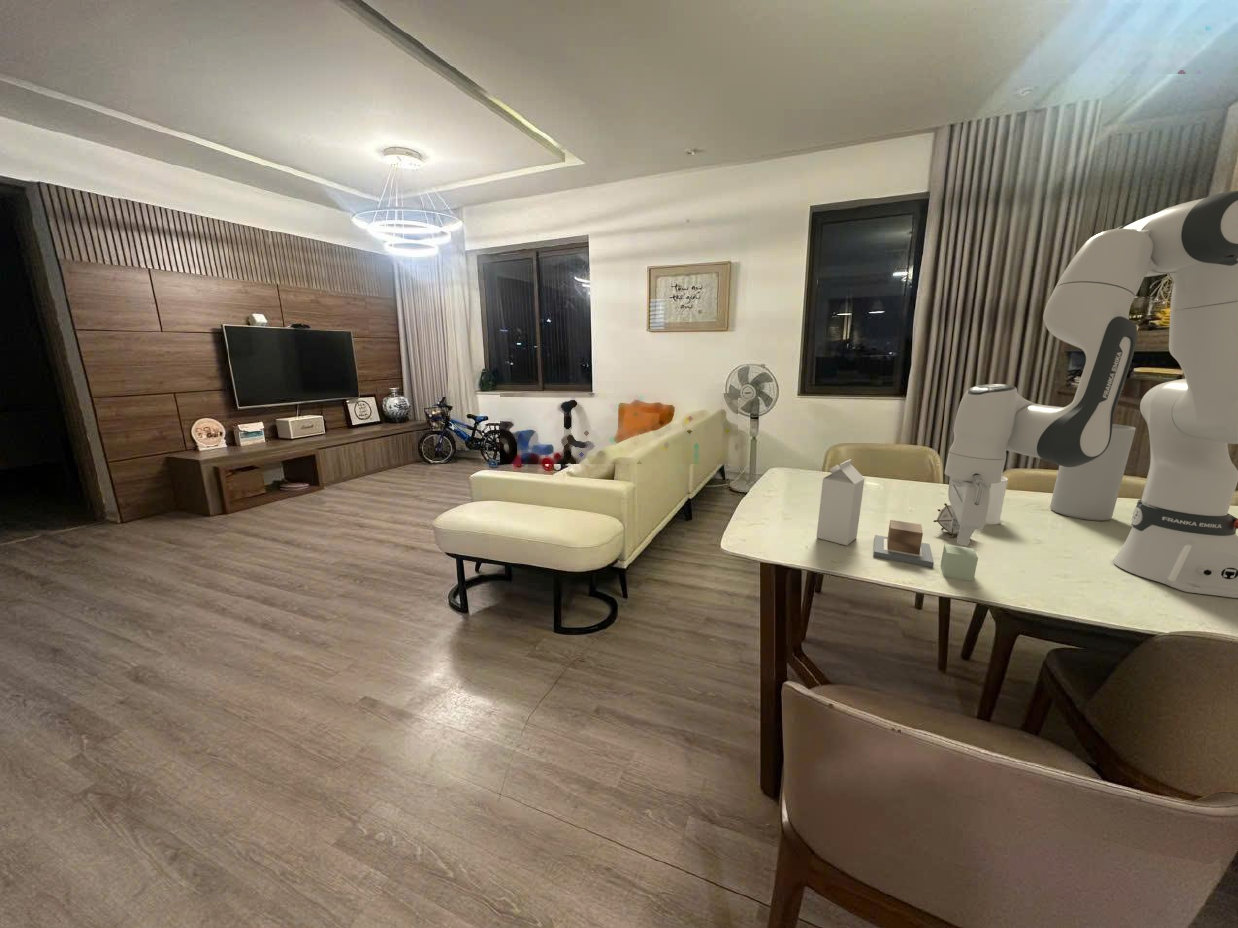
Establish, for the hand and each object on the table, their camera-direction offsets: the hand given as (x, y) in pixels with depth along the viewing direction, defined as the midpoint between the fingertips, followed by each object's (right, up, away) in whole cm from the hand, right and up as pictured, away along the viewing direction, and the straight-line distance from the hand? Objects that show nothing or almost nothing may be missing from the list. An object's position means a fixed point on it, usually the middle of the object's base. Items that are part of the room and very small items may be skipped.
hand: (959, 535), depth 93 cm
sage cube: (+1, -8, +1) cm, 8 cm away
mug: (+31, -1, +33) cm, 45 cm away
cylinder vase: (+61, 0, +37) cm, 71 cm away
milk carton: (-16, -4, +19) cm, 25 cm away
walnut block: (-5, -4, +11) cm, 12 cm away
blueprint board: (-5, -6, +11) cm, 13 cm away
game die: (+14, -3, +22) cm, 26 cm away
